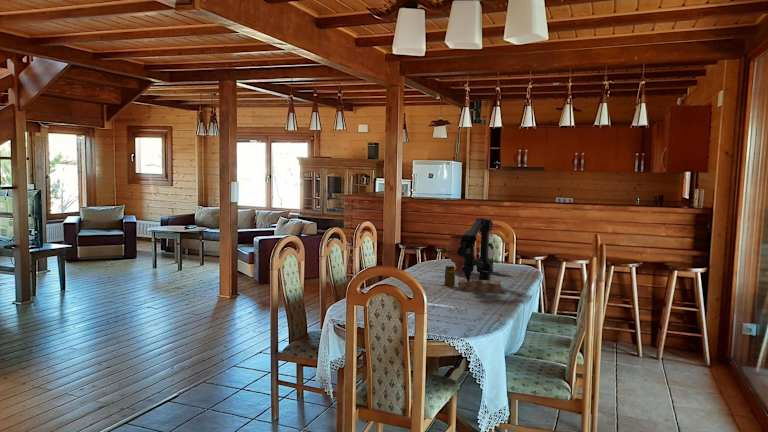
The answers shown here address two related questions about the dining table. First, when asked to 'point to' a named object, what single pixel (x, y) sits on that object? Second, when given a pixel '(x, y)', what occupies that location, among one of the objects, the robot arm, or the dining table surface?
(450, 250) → the goblet
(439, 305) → the dining table surface
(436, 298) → the dining table surface
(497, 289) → the housing
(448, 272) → the condiment
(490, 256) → the milk carton
